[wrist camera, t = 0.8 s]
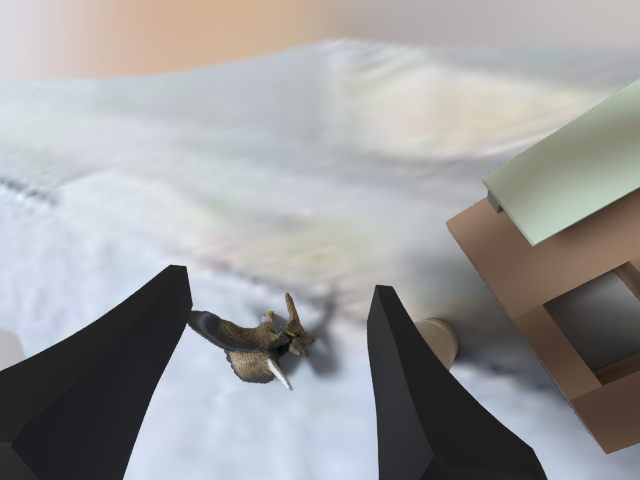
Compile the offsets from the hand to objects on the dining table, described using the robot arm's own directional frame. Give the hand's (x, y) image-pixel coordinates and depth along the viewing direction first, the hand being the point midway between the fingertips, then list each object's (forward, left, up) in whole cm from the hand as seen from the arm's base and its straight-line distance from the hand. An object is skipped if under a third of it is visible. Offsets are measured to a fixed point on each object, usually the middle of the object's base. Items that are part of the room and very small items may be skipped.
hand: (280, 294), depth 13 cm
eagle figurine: (+2, +10, -14) cm, 17 cm away
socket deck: (-5, -13, -14) cm, 20 cm away
